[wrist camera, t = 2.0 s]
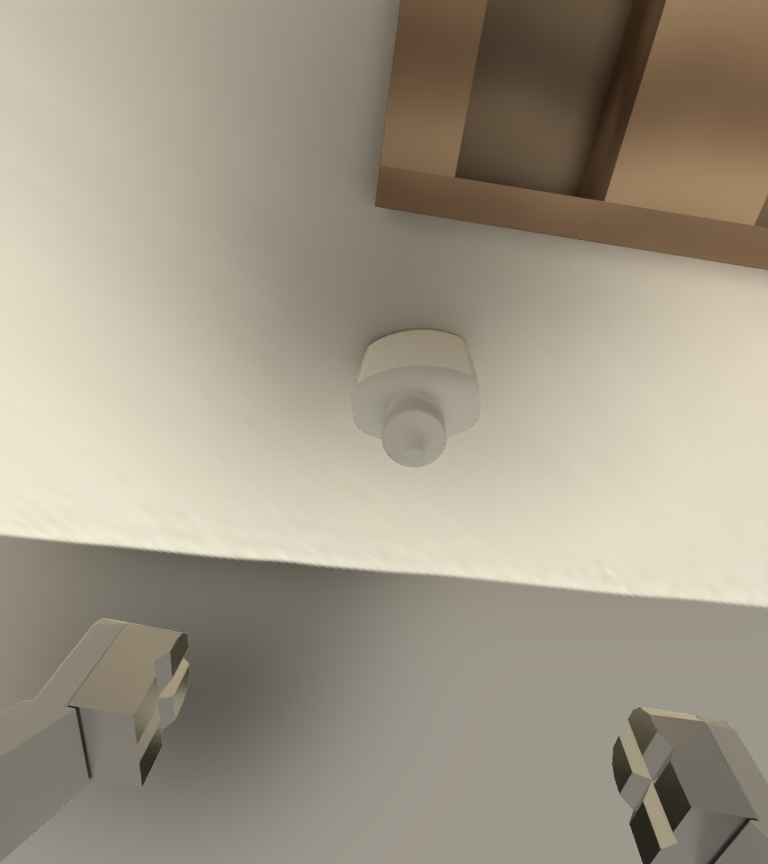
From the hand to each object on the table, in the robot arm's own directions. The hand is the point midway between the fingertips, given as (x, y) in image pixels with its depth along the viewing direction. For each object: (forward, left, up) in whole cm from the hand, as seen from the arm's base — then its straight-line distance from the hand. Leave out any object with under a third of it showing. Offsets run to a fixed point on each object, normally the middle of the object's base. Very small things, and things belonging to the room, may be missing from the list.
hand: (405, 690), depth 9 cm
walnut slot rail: (-13, +9, -21) cm, 26 cm away
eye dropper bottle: (0, 0, -21) cm, 21 cm away
